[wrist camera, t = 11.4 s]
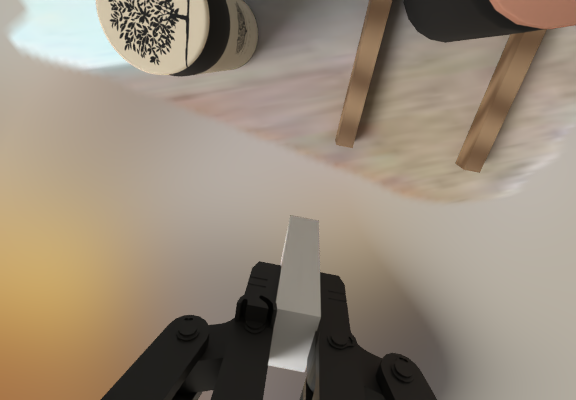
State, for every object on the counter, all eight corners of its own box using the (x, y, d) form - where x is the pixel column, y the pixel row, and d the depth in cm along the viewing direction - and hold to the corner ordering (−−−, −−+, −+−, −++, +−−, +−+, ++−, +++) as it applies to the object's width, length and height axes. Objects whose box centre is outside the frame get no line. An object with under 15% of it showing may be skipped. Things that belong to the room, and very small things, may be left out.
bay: (470, 166, 40) (481, 174, 38) (335, 140, 40) (336, 145, 38) (598, -118, 29) (627, -136, 26) (407, -155, 29) (416, -177, 26)
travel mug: (186, 56, 38) (87, 55, 21) (198, -19, 34) (93, -88, 18) (248, 79, 38) (198, 95, 22) (266, 7, 35) (224, -37, 19)
